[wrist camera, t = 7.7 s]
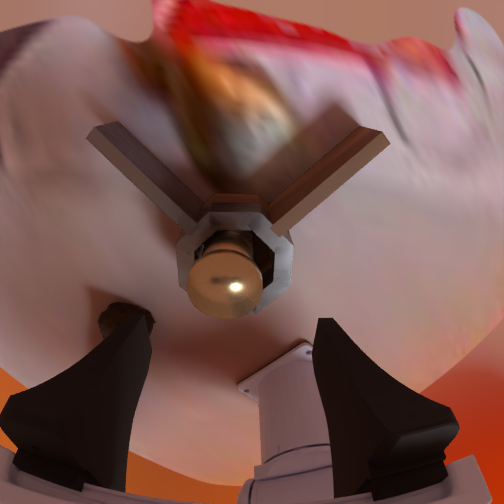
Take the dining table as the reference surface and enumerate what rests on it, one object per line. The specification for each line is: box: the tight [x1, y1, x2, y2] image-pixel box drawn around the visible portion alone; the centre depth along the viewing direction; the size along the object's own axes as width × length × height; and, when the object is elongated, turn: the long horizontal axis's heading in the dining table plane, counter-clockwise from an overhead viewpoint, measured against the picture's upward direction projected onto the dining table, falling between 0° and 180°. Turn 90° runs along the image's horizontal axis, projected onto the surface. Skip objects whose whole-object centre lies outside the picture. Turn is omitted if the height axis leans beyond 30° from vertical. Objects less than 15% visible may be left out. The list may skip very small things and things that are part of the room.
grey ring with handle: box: [86, 122, 294, 314], centre depth 18 cm, size 14×6×4 cm, turn 43°
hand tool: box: [98, 302, 155, 340], centre depth 25 cm, size 19×4×5 cm, turn 157°
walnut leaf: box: [181, 126, 391, 275], centre depth 19 cm, size 6×14×4 cm, turn 133°
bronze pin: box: [186, 230, 263, 319], centre depth 19 cm, size 4×4×6 cm
